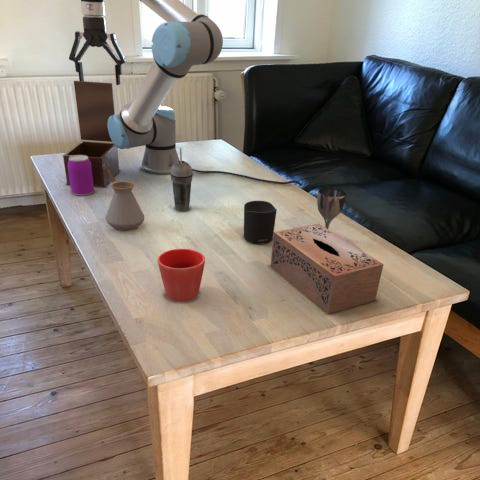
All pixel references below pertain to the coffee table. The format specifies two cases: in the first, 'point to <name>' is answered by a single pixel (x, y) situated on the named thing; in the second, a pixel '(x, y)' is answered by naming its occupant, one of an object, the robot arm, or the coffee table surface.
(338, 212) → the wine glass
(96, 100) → the lid
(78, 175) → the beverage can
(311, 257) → the tissue box cover
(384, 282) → the coffee table surface
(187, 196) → the beverage cup
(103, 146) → the chest
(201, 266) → the flower pot
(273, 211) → the pen holder
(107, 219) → the coffee pot
